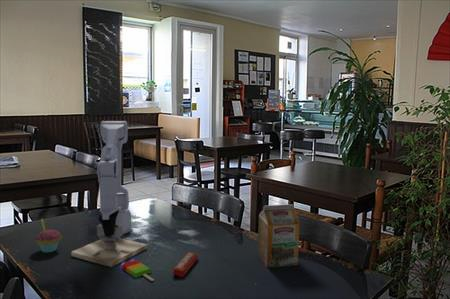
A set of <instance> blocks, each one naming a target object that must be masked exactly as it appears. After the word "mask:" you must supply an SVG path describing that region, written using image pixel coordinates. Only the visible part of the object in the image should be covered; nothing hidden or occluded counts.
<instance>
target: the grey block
mask: <svg viewBox="0 0 450 299" xmlns="http://www.w3.org/2000/svg"><path fill="white" fill-rule="evenodd" d="M96 236H97V237H98V238H99V239H101V241H103V242H113V241H117V240H118V241H119V240H121V238H122V236H123V235H122V225H113V232H112V236H111V237H105V234H104V230H103V227H102V225H101V223H100V224H98V225H96Z"/></svg>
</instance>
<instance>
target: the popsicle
mask: <svg viewBox="0 0 450 299" xmlns="http://www.w3.org/2000/svg"><path fill="white" fill-rule="evenodd" d="M121 266H122V267H121V269H122V270H123V271H125V272H126V273H128V274H129V275H131V277H133V278H135V279H137V278H139V277H140V278H141V277H142V276H143V277H144V278H146V279H147V280H149V281H150V282H154V281H155V279H154V278H153V277H151V276H150V275H149V274H151V273H152V269H151V268H150V267H149V266H146V265H145V264H143V263H142V262H140V261H139V260H137V259H136V260H131V261H126V262H124V263H122V265H121Z"/></svg>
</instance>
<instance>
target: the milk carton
mask: <svg viewBox="0 0 450 299" xmlns="http://www.w3.org/2000/svg"><path fill="white" fill-rule="evenodd" d="M262 208H263V209H262V210H261V211H260V213H259V215H258V232H257V233H258V237H257V242H258V243H257V256H258V257H259V258H260V260H261V261H262V263H263V264H264V266H265V267H266V268H277V267H278V268H279V267H280V268H281V267H291V266H298V265H299V246H300V245H299V243H300V220H299V218H298V215H297V212H296V208H295V204H275V205H273V204H270V205H264V206H263V207H262Z"/></svg>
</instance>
